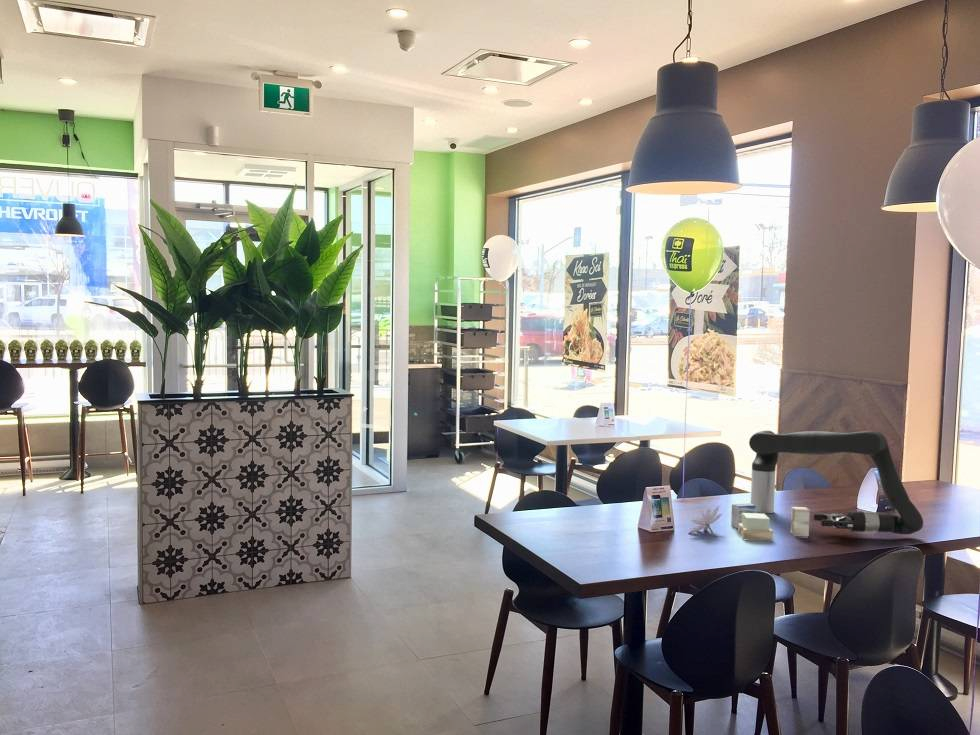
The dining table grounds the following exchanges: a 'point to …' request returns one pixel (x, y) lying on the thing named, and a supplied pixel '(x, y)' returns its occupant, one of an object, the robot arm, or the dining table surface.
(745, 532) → the tower base block
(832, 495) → the dining table surface
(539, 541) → the dining table surface
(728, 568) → the dining table surface
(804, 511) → the tall white block
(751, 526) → the tower top block
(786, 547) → the dining table surface
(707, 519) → the water lily
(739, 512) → the medicine box
